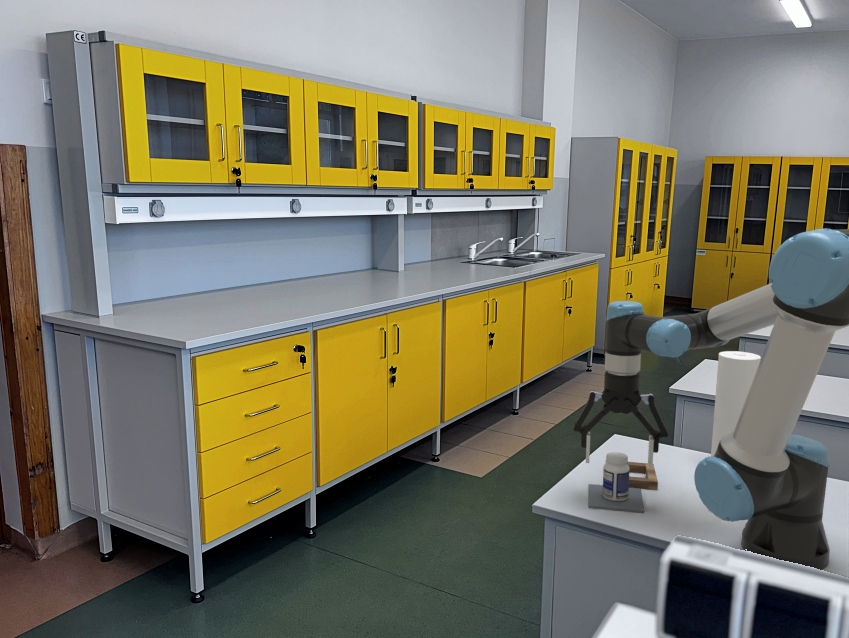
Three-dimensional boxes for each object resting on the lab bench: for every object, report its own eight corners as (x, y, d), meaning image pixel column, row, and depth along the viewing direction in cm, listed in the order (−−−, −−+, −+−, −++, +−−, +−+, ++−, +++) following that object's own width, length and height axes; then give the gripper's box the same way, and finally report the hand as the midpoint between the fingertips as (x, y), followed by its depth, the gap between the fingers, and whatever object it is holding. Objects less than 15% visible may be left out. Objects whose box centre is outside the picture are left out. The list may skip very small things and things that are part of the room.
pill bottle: (628, 493, 160) (630, 452, 158) (628, 503, 154) (630, 461, 153) (602, 490, 161) (604, 449, 160) (601, 500, 156) (603, 458, 154)
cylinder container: (757, 476, 171) (768, 357, 166) (718, 476, 171) (728, 357, 166) (740, 462, 180) (750, 349, 175) (704, 461, 180) (713, 349, 175)
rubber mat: (645, 513, 151) (645, 511, 151) (588, 507, 154) (588, 505, 153) (640, 490, 162) (641, 488, 162) (588, 485, 165) (588, 483, 165)
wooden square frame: (657, 490, 163) (658, 482, 162) (606, 485, 165) (606, 477, 165) (653, 471, 174) (653, 463, 173) (605, 467, 176) (605, 459, 176)
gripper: (679, 370, 154) (674, 461, 157) (565, 365, 159) (562, 453, 163) (684, 378, 146) (679, 474, 150) (564, 372, 152) (561, 465, 155)
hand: (618, 463), depth 156 cm, fingers open, 13 cm apart
